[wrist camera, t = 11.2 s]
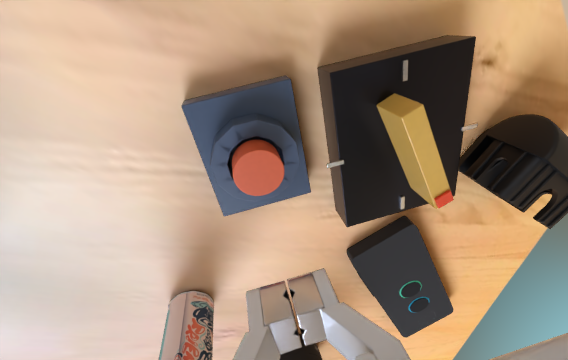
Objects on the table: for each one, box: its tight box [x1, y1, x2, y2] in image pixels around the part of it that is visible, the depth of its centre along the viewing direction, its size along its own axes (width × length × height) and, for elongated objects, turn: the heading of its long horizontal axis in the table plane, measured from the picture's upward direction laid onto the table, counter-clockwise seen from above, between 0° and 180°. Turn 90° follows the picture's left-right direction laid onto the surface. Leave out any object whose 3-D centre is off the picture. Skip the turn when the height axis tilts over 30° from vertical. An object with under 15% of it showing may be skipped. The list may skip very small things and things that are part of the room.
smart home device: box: [347, 216, 453, 337], centre depth 36 cm, size 8×2×20 cm
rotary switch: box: [318, 35, 478, 227], centre depth 25 cm, size 14×13×3 cm
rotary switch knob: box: [377, 93, 454, 209], centre depth 22 cm, size 9×2×4 cm, turn 31°
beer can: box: [159, 291, 214, 360], centre depth 26 cm, size 5×5×12 cm
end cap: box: [458, 115, 568, 229], centre depth 27 cm, size 10×7×7 cm
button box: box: [182, 75, 311, 216], centre depth 23 cm, size 10×8×4 cm
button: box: [232, 140, 284, 196], centre depth 20 cm, size 4×4×2 cm
